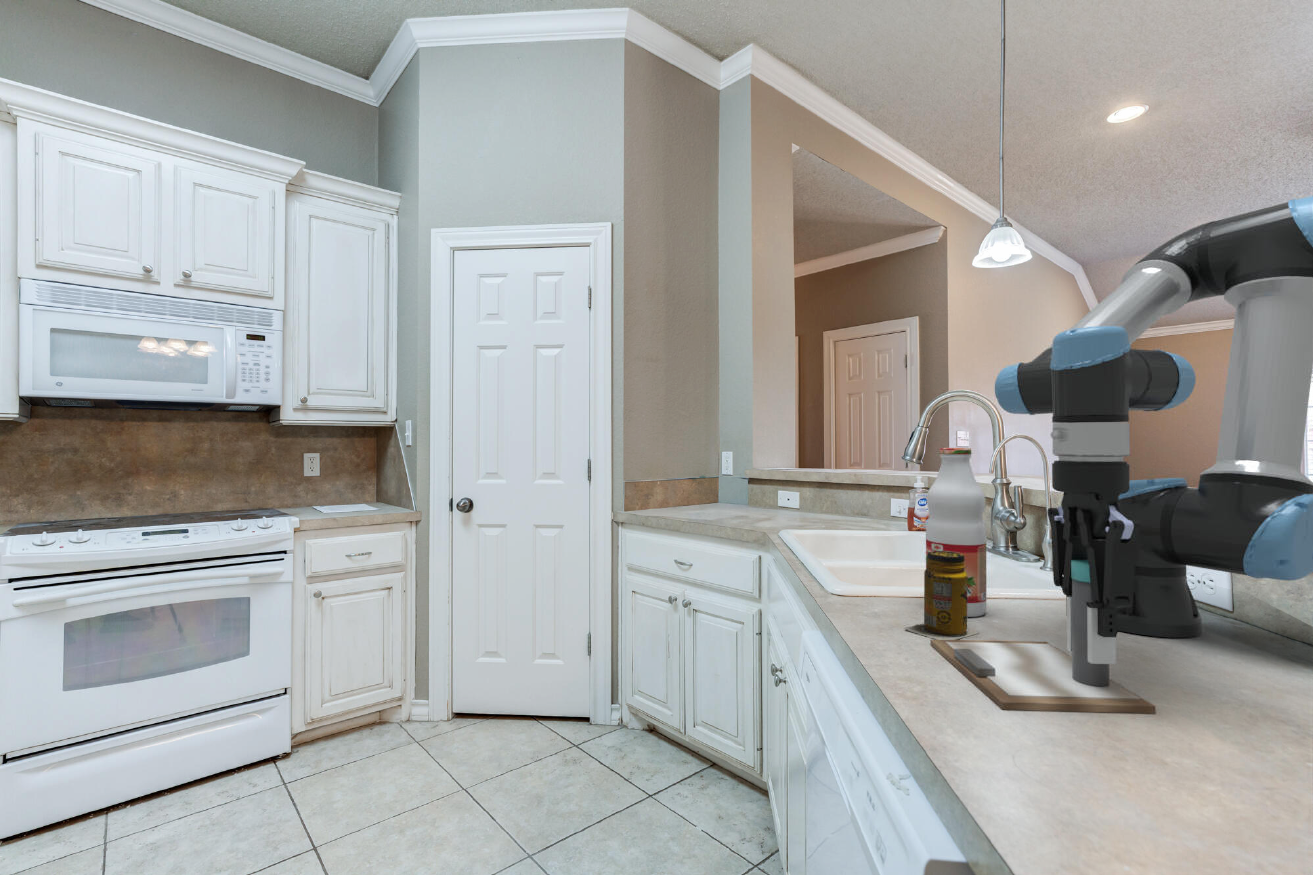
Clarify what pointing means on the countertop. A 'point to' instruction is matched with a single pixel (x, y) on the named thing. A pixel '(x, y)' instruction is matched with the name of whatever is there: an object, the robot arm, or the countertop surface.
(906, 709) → the countertop surface
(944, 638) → the condiment
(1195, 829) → the countertop surface
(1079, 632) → the marker
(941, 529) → the fruit juice
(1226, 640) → the countertop surface
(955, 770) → the countertop surface
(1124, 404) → the robot arm
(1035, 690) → the clipboard
